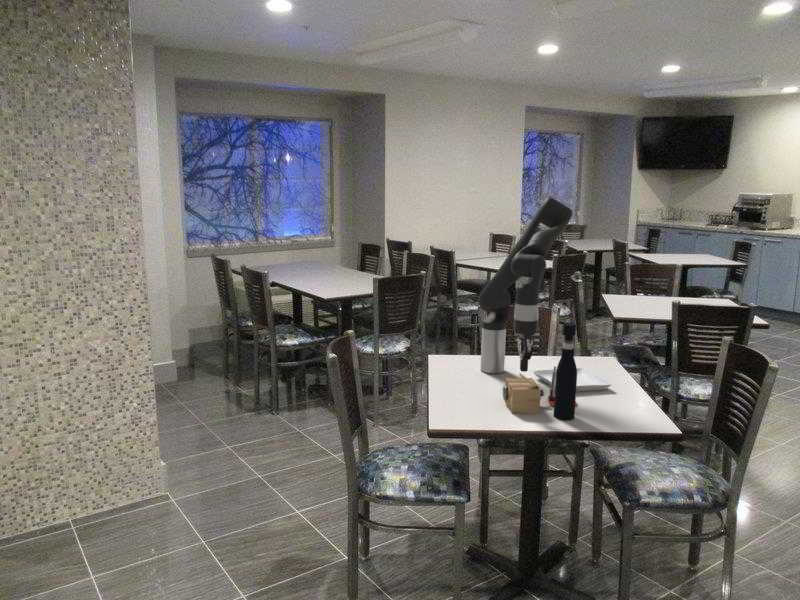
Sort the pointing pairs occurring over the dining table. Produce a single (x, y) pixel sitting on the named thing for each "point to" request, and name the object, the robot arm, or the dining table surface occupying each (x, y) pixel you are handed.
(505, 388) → the pin
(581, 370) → the salad plate
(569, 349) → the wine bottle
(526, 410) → the block
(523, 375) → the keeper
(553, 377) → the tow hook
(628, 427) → the dining table surface
